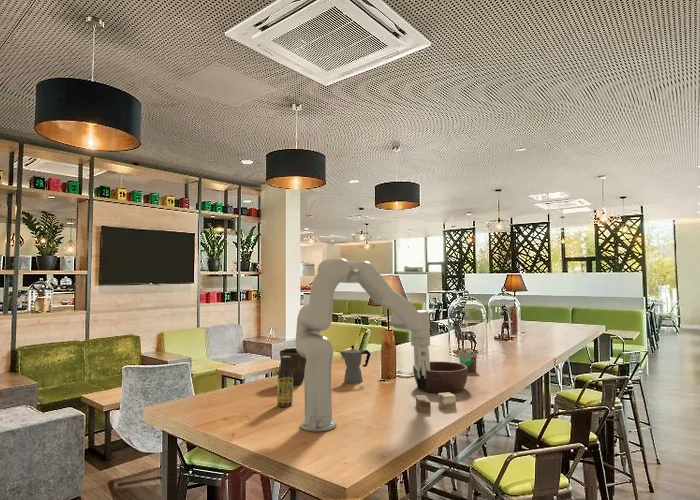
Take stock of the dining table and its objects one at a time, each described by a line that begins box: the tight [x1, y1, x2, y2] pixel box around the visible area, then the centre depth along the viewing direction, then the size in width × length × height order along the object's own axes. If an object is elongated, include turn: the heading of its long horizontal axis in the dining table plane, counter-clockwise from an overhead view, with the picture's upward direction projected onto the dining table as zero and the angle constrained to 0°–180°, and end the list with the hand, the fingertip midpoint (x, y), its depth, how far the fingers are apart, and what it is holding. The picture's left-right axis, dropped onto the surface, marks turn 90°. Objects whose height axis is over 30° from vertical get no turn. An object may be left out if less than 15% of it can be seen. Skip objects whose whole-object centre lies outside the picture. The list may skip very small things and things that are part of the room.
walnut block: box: [415, 394, 432, 414], centre depth 178 cm, size 4×4×10 cm
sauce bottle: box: [276, 356, 294, 408], centre depth 186 cm, size 6×6×20 cm
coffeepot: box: [339, 344, 371, 385], centre depth 227 cm, size 15×9×18 cm, turn 87°
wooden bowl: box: [412, 361, 469, 394], centre depth 210 cm, size 25×25×10 cm
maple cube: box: [437, 392, 457, 410], centre depth 180 cm, size 5×5×5 cm
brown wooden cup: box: [279, 348, 306, 386], centre depth 225 cm, size 15×15×16 cm
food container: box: [458, 350, 478, 373], centre depth 248 cm, size 12×6×10 cm, turn 25°
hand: (421, 388), depth 180 cm, fingers closed
